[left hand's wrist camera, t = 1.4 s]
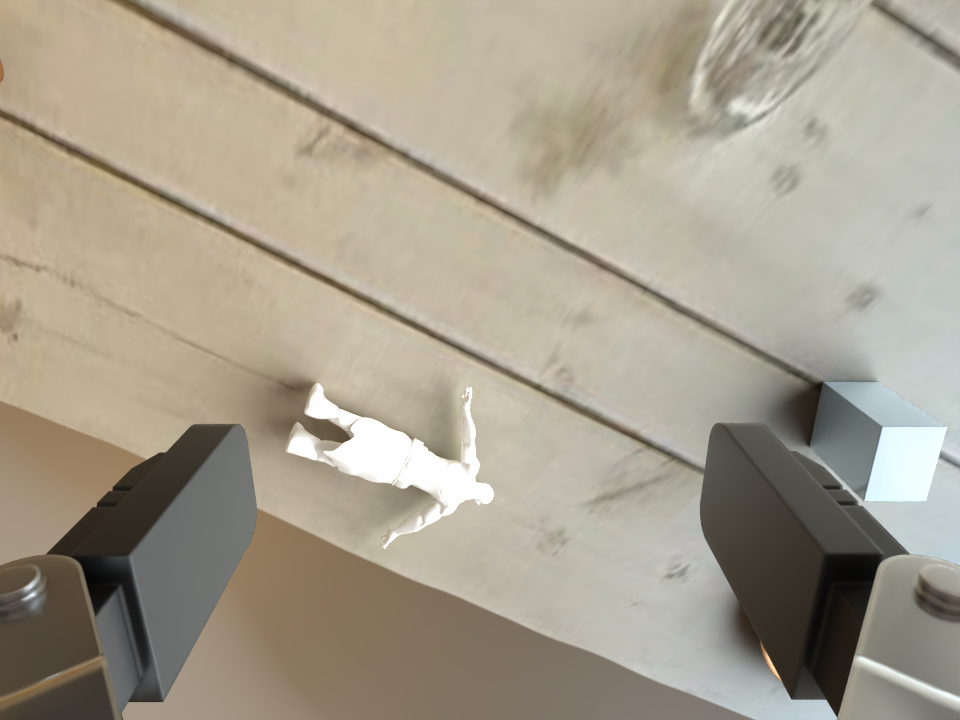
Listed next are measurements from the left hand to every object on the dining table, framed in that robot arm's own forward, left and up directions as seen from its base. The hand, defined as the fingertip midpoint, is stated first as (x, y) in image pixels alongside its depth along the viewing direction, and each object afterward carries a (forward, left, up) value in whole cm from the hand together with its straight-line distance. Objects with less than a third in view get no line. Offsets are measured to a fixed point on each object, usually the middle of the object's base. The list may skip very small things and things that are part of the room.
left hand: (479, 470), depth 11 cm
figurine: (+10, -20, -40) cm, 46 cm away
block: (+35, +9, -40) cm, 54 cm away
